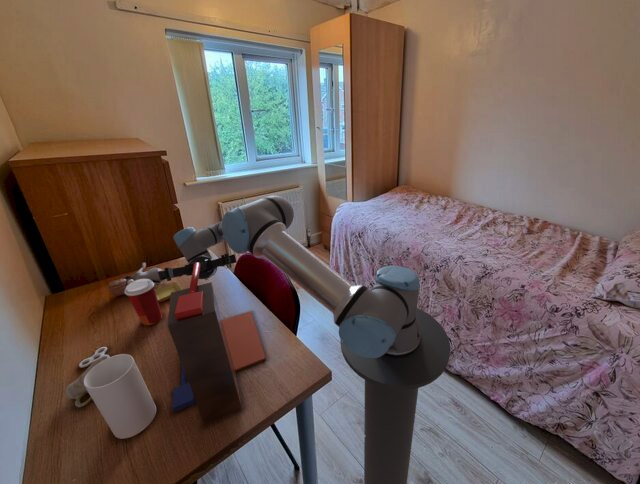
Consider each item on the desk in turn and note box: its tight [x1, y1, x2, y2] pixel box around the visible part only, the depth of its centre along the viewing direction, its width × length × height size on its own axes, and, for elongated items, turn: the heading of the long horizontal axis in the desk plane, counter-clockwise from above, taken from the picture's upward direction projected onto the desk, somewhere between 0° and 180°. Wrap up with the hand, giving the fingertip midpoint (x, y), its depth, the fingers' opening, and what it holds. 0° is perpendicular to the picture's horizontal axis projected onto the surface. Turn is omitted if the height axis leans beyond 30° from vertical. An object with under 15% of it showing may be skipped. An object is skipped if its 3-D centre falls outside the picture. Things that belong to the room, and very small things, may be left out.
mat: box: [222, 311, 266, 372], centre depth 86 cm, size 12×22×1 cm, turn 27°
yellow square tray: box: [154, 280, 183, 303], centre depth 107 cm, size 9×9×2 cm
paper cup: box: [124, 279, 163, 326], centre depth 92 cm, size 8×8×14 cm
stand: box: [167, 282, 243, 426], centre depth 63 cm, size 8×11×29 cm
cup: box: [84, 353, 157, 439], centre depth 62 cm, size 8×8×16 cm
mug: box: [65, 357, 107, 408], centre depth 71 cm, size 8×10×10 cm
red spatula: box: [175, 262, 204, 319], centre depth 61 cm, size 19×4×1 cm, turn 22°
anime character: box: [108, 262, 168, 297], centre depth 111 cm, size 25×6×18 cm
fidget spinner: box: [78, 346, 111, 368], centre depth 81 cm, size 7×6×1 cm
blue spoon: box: [172, 365, 196, 413], centre depth 75 cm, size 19×4×1 cm, turn 27°
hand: (196, 266), depth 76 cm, fingers open, 13 cm apart
